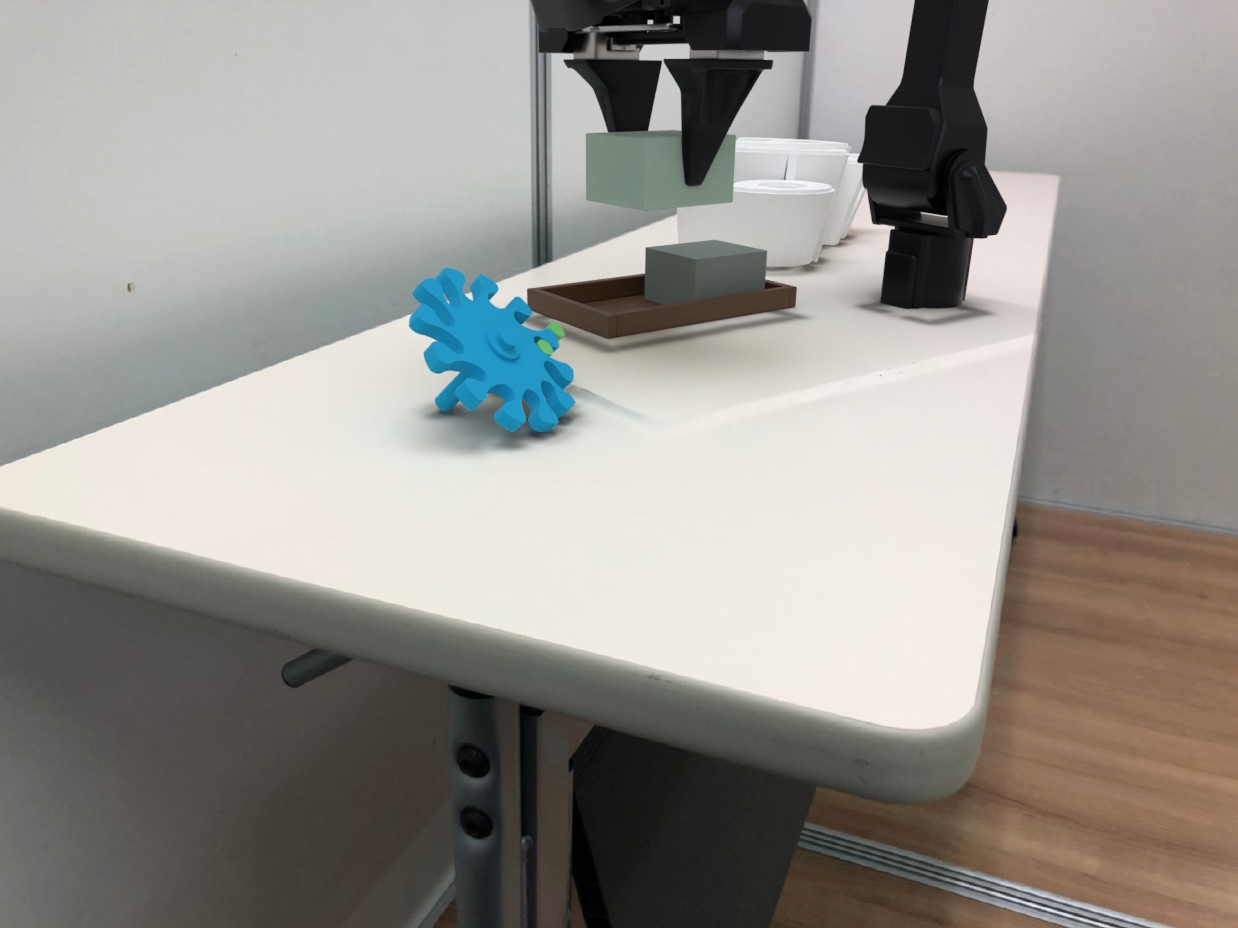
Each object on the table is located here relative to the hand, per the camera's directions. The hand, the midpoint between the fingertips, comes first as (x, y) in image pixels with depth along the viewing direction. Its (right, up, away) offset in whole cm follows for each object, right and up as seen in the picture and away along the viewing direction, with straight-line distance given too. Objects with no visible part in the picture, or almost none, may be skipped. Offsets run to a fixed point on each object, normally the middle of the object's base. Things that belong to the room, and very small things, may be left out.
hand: (659, 180), depth 60 cm
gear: (-9, -15, -8) cm, 19 cm away
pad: (+4, -5, +15) cm, 16 cm away
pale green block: (0, -1, 0) cm, 1 cm away
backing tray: (+1, -7, +13) cm, 14 cm away
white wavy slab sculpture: (+14, +5, +42) cm, 45 cm away
